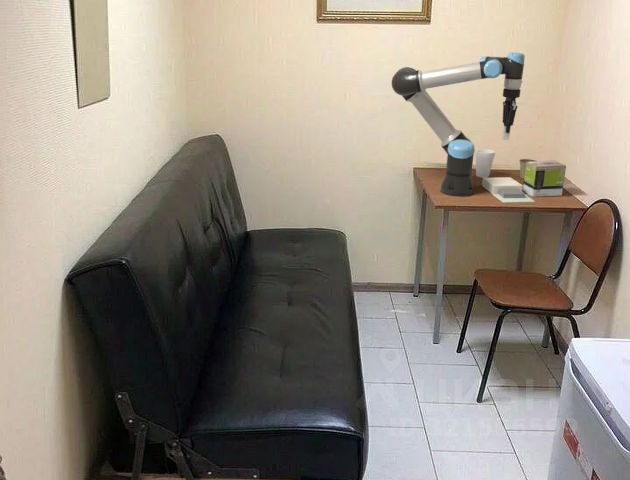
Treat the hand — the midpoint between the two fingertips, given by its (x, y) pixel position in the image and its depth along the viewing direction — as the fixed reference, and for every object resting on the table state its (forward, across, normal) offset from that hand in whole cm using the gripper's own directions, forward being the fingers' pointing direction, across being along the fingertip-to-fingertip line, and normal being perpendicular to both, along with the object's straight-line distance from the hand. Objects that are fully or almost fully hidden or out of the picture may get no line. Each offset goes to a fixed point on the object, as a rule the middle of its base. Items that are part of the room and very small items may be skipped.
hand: (505, 139), depth 297 cm
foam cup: (+24, +20, +2) cm, 31 cm away
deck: (+24, -3, 0) cm, 24 cm away
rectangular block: (+23, -14, -1) cm, 27 cm away
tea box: (+24, -9, -17) cm, 31 cm away
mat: (+24, -17, -1) cm, 29 cm away
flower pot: (+24, +18, -20) cm, 36 cm away
